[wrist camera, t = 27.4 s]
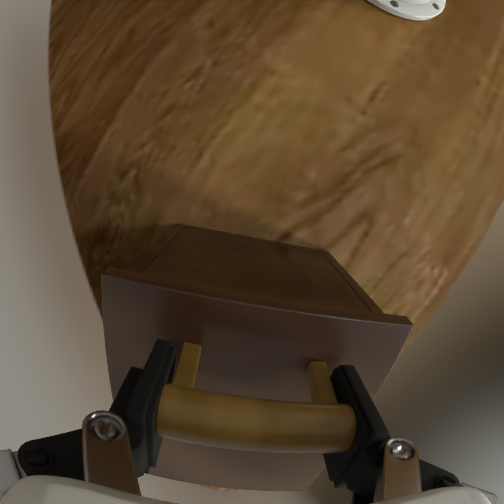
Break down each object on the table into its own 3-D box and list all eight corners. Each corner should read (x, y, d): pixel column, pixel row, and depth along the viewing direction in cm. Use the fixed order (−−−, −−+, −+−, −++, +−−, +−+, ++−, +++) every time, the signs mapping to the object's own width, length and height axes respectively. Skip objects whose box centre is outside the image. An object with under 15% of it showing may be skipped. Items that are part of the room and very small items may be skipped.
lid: (108, 265, 11) (38, 337, 6) (406, 315, 12) (463, 391, 7) (130, 460, 16) (115, 515, 11) (303, 482, 17) (310, 537, 12)
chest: (176, 223, 23) (118, 274, 12) (329, 252, 24) (390, 320, 13) (163, 368, 27) (131, 460, 16) (286, 387, 28) (303, 482, 17)
